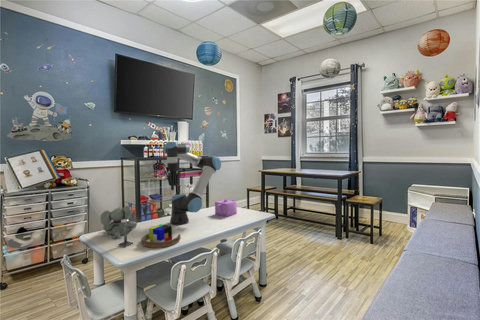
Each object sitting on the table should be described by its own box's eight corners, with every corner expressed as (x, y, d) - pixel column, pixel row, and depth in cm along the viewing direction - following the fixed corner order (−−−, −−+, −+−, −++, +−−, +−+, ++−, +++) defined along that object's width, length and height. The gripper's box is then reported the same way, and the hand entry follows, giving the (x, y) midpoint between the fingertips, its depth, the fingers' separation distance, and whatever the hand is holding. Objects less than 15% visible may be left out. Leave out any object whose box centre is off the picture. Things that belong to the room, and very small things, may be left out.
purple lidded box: (241, 212, 248) (241, 197, 247) (223, 218, 228) (223, 202, 228) (229, 210, 257) (229, 196, 257) (211, 215, 238) (211, 200, 237)
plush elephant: (106, 230, 199) (105, 203, 198) (136, 226, 206) (136, 201, 205) (98, 241, 174) (97, 211, 173) (134, 237, 180) (133, 208, 179)
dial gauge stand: (118, 246, 165) (117, 220, 164) (129, 241, 172) (128, 217, 172) (127, 248, 161) (127, 222, 161) (138, 243, 169) (137, 218, 168)
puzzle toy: (160, 245, 164) (160, 230, 164) (149, 243, 169) (149, 228, 169) (172, 240, 173) (171, 226, 173) (161, 238, 178) (160, 224, 178)
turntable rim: (133, 244, 167) (133, 239, 167) (157, 234, 186) (157, 230, 186) (162, 250, 157) (162, 245, 156) (184, 239, 175) (184, 234, 175)
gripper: (171, 163, 184) (172, 196, 185) (182, 162, 196) (183, 193, 197) (162, 163, 187) (163, 195, 188) (173, 162, 199) (175, 192, 200)
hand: (173, 194), depth 193 cm, fingers closed
